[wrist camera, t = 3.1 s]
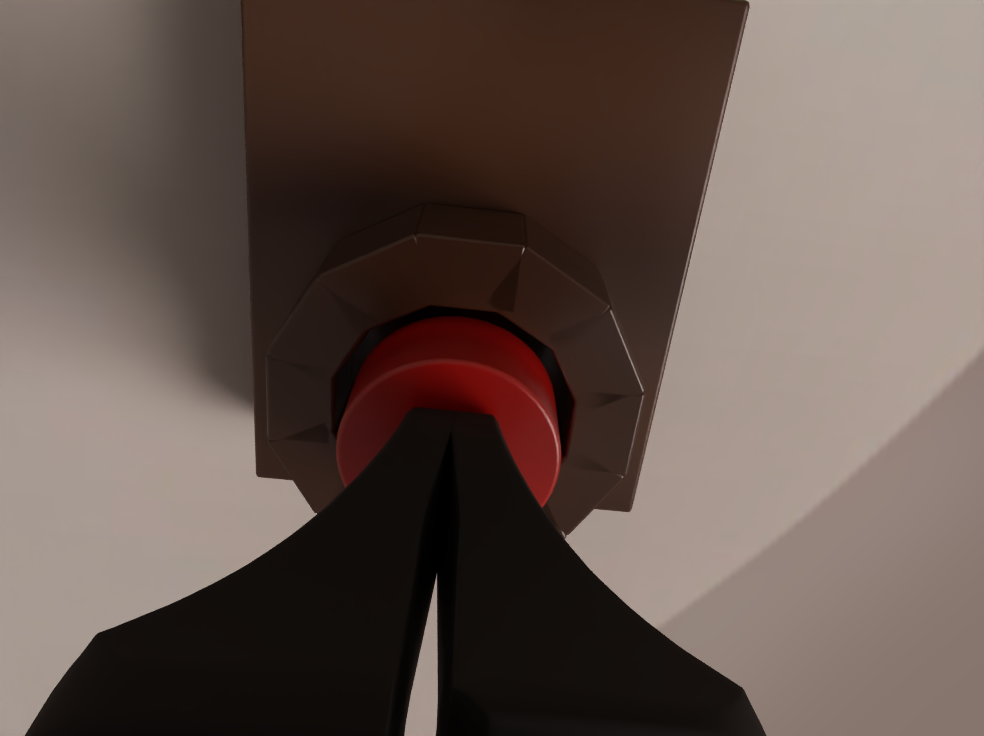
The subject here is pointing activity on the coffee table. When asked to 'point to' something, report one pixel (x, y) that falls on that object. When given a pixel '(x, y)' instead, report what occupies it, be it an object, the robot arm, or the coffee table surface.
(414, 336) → the light button
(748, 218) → the coffee table surface
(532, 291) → the switch box
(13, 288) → the coffee table surface
